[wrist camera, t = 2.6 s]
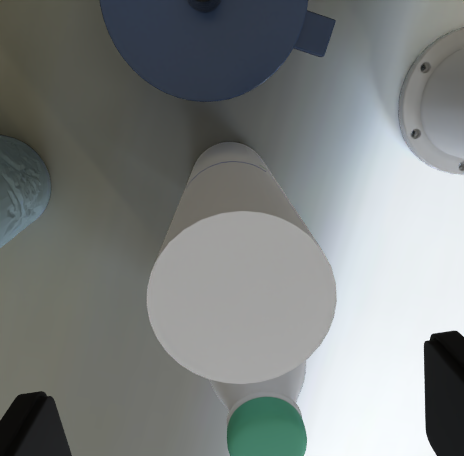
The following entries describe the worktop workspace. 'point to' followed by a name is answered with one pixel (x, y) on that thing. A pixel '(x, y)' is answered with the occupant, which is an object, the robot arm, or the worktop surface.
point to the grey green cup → (20, 187)
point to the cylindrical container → (239, 274)
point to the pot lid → (204, 42)
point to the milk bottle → (265, 415)
